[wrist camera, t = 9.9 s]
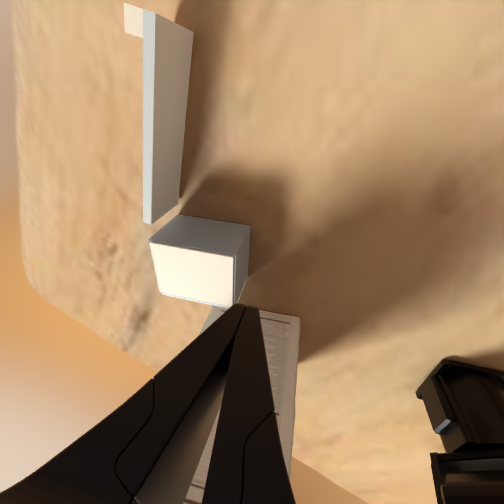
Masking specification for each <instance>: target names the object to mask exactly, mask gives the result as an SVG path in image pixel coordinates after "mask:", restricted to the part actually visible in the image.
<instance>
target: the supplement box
mask: <svg viewBox="0 0 504 504" xmlns="http://www.w3.org/2000/svg"><path fill="white" fill-rule="evenodd" d="M226 310H228V308H223V307H218V306H213V307H212V309H211V311H210V313H209V315H208V318H207V320H206V322H205V324H204V326H203V328H202V330H201V332H200V334H201V333H202V332H203V331H204V330H206V329H207V328H208V327H209V326H210V325H211V324H212V323H213V322H214V321H215V320H217V319H218V318H219V317H220V316H221V315H222V314H223V313H224V312H225V311H226ZM259 313H260V319H261V325H262V331H263V338H264V344H265V350H266V356H267V363H268V369H269V375H270V381H271V388H272V394H273V400H274V406H275V413H276V418H277V424H278V430H279V435H280V441H281V446H282V451H283V456H284V460H285V464H286V468H287V472H288V476H289V480H290V472H291V457H292V446H293V433H294V423H295V393H296V382H297V367H298V352H299V339H300V324H301V319H300V318H299V317H294V316H289V315H283V314H278V313H273V312H267V311H262V310H259ZM200 334H199V335H200ZM220 408H221V406H220ZM219 413H220V409H219V411H218V414H217V416H216V419H215V422H214V424H213V427H212V430H211V432H210V435H209V437H208V440H207V443H206V445H205V448H204V451H203V453H202V456H201V458H200V461H199V464H198V466H197V469H196V472H195V474H194V477H193V479H192V482H191V485H190V487H189V490H188V493H187V495H186V498H185V500H184V503H183V504H202V499H203V494H204V489H205V484H206V479H207V473H208V468H209V463H210V458H211V453H212V448H213V443H214V438H215V433H216V428H217V423H218V418H219Z"/></svg>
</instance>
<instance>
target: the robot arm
mask: <svg viewBox="0 0 504 504" xmlns="http://www.w3.org/2000/svg"><path fill="white" fill-rule="evenodd" d="M416 396H417V398H418V399H422V400H423V401H424V404H425V407H426V410H427V413H428V416H429V419H430V422H431V425H432V427H433V430H434V431H435V433H436V434H440V437H441V440H442V443H443V446H444V448H445V451H446V453H437V452H434V453H430V457H431V468H432V474H433V480H434V485H435V491H436V497H437V503H438V504H504V372H500V371H495V370H491V369H486V368H482V367H477V366H472V365H468V364H463V363H458V362H454V361H449V360H444V361H442V362H440V363H439V365H438V366H437V367H436V368H435V369H434V371H433V372H432V373H431V374H430V375H429V377H428V378H427V379H426V380H425V381H424V383H423V384H422V385H421V386H420V387H419V389H418V390H417V391H416ZM220 406H221V408H220ZM219 409H220V413H219V418H218V423H217V428H216V433H215V438H214V443H213V448H212V453H211V458H210V463H209V468H208V473H207V479H206V484H205V489H204V494H203V499H202V504H296V503H295V499H294V495H293V492H292V488H291V484H290V480H289V476H288V472H287V468H286V464H285V460H284V456H283V451H282V446H281V441H280V435H279V430H278V424H277V418H276V413H275V406H274V400H273V394H272V388H271V381H270V375H269V369H268V363H267V356H266V350H265V344H264V338H263V331H262V325H261V319H260V313H259V309H258V308H257V307H252V306H247V307H246V305H243V304H238V303H235V304H233V305H232V306H231V307H230V308H229V309H228V310H226V311H225V312H224V313H223V314H222V315H221V316H220V317H219V318H218V319H217V320H215V321H214V322H213V323H212V324H211V325H210V326H209V327H208V328H207V329H206V330H204V331H203V332H202V333H201V334H200V335H199V336H198V337H197V338H196V339H195V340H193V341H192V342H191V343H190V344H189V345H188V346H187V347H186V348H185V349H184V350H182V351H181V352H180V353H179V354H178V355H177V356H176V357H175V358H174V359H173V360H171V361H170V362H169V363H168V364H167V365H166V366H165V367H164V368H163V369H162V370H160V371H159V372H158V373H157V374H156V375H155V376H154V379H150V380H149V381H148V382H147V383H146V384H145V385H144V386H143V387H142V388H141V389H140V390H138V391H137V392H136V393H135V394H134V395H133V396H131V397H130V398H129V399H128V400H127V401H126V402H124V404H122V405H121V406H120V407H118V408H117V409H116V410H115V411H113V412H112V413H111V414H110V415H108V416H107V417H106V418H105V419H103V420H102V421H101V422H100V423H98V424H97V425H95V426H94V427H93V428H91V429H90V430H89V431H88V432H86V433H85V434H84V435H82V436H81V437H80V438H78V439H77V440H76V441H75V442H73V443H72V444H71V445H69V446H68V447H67V448H65V449H64V450H63V451H61V452H60V453H59V454H57V455H56V456H55V457H53V458H52V459H51V460H50V461H48V462H47V463H46V464H44V465H43V466H42V467H40V468H39V469H37V470H36V471H35V472H33V473H32V474H30V475H29V476H27V477H26V478H25V479H23V480H21V481H20V482H18V483H16V484H15V485H13V486H12V487H10V488H8V489H6V490H4V491H3V492H1V493H0V504H183V503H184V500H185V498H186V495H187V493H188V490H189V487H190V485H191V482H192V479H193V477H194V474H195V472H196V469H197V466H198V464H199V461H200V458H201V456H202V453H203V451H204V448H205V445H206V443H207V440H208V437H209V435H210V432H211V430H212V427H213V424H214V422H215V419H216V416H217V414H218V411H219Z"/></svg>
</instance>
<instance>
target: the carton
mask: <svg viewBox="0 0 504 504" xmlns="http://www.w3.org/2000/svg"><path fill="white" fill-rule="evenodd" d="M250 232H251V226H250V225H244V224H237V223H231V222H224V221H218V220H212V219H205V218H199V217H192V216H186V215H180V214H178V215H177V216H175V217H174V218H173V219H172V220H171V221H170V222H168V223H167V224H166V225H165V226H164V227H163V228H161V229H160V230H159V231H158V232H157V233H156V234H155V235H153V236H152V237H151V238H150V239H149V244H150V249H151V254H152V259H153V263H154V268H155V273H156V278H157V282H158V287H159V291H160V292H162V295H167V296H171V297H176V298H181V299H185V300H190V301H195V302H199V303H204V304H209V305H213V306H218V307H223V308H228V309H229V308H230V307H231V306H232V305H233V304H235V303H238V302H239V300H240V297H241V295H242V292H243V289H244V287H245V284H246V282H247V274H248V265H249V249H250Z"/></svg>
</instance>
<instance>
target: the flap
mask: <svg viewBox="0 0 504 504" xmlns="http://www.w3.org/2000/svg"><path fill="white" fill-rule="evenodd" d="M124 21H125V33H128V34H131V35H134V36H137V37H140V38H143V222H144V223H147V224H150V225H152V224H153V223H154V222H155V221H157V220H158V219H159V218H160V217H162V216H163V215H164V214H166V213H167V212H168V211H169V210H171V209H172V208H173V207H174V206H176V205H177V204H178V199H179V188H180V177H181V166H182V155H183V144H184V133H185V122H186V111H187V100H188V89H189V78H190V68H191V57H192V46H193V35H194V32H193V31H191V30H189V29H187V28H185V27H183V26H181V25H179V24H176V23H174V22H172V21H170V20H168V19H166V18H164V17H162V16H160V15H158V14H156V13H154V12H150V11H147V10H144V9H141V8H138V7H135V6H132V5H129V4H126V3H124Z"/></svg>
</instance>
